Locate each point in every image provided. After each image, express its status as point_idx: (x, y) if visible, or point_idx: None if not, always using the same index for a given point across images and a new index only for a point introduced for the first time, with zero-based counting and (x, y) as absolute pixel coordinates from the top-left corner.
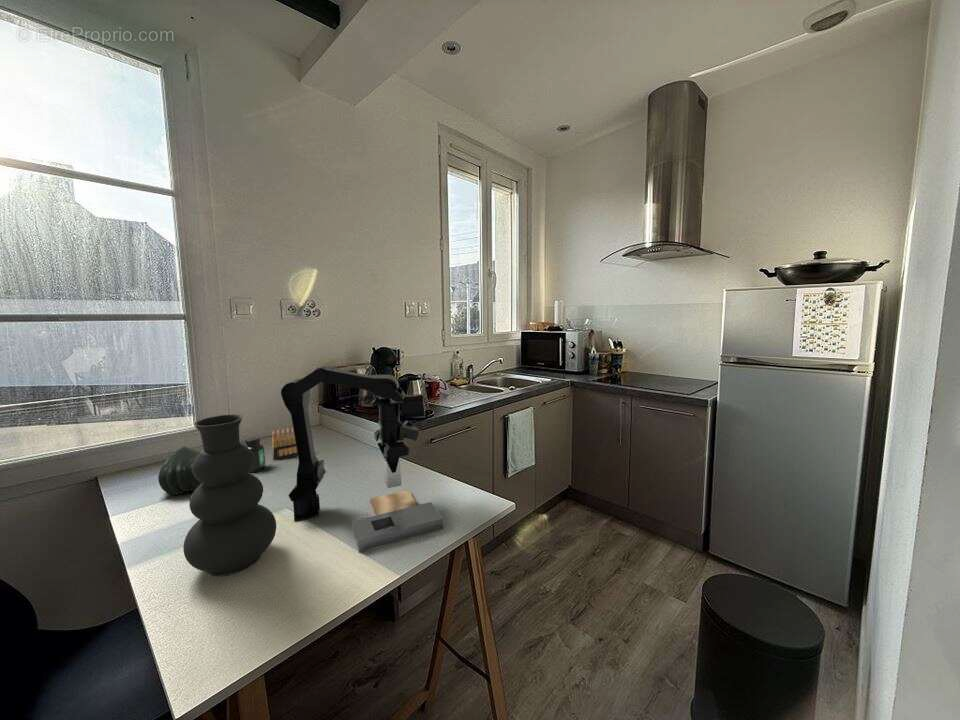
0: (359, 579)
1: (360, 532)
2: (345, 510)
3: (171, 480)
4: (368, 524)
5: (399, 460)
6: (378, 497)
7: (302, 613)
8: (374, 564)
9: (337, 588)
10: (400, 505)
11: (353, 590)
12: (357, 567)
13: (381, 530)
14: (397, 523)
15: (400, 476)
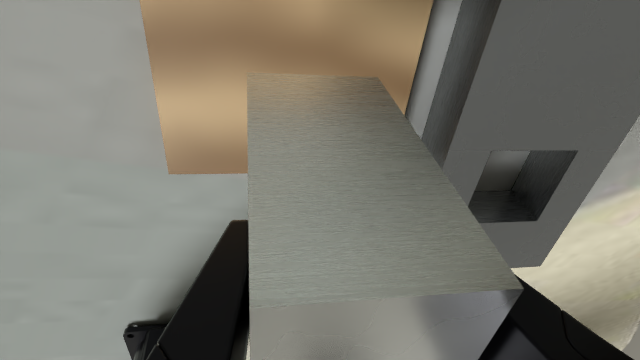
0: (615, 242)
1: None
2: (209, 253)
3: None
4: None
5: (513, 287)
6: (172, 132)
7: (591, 319)
8: (603, 207)
9: (592, 278)
10: (349, 39)
11: (632, 254)
12: (570, 243)
13: (554, 200)
14: (573, 136)
15: (405, 124)
